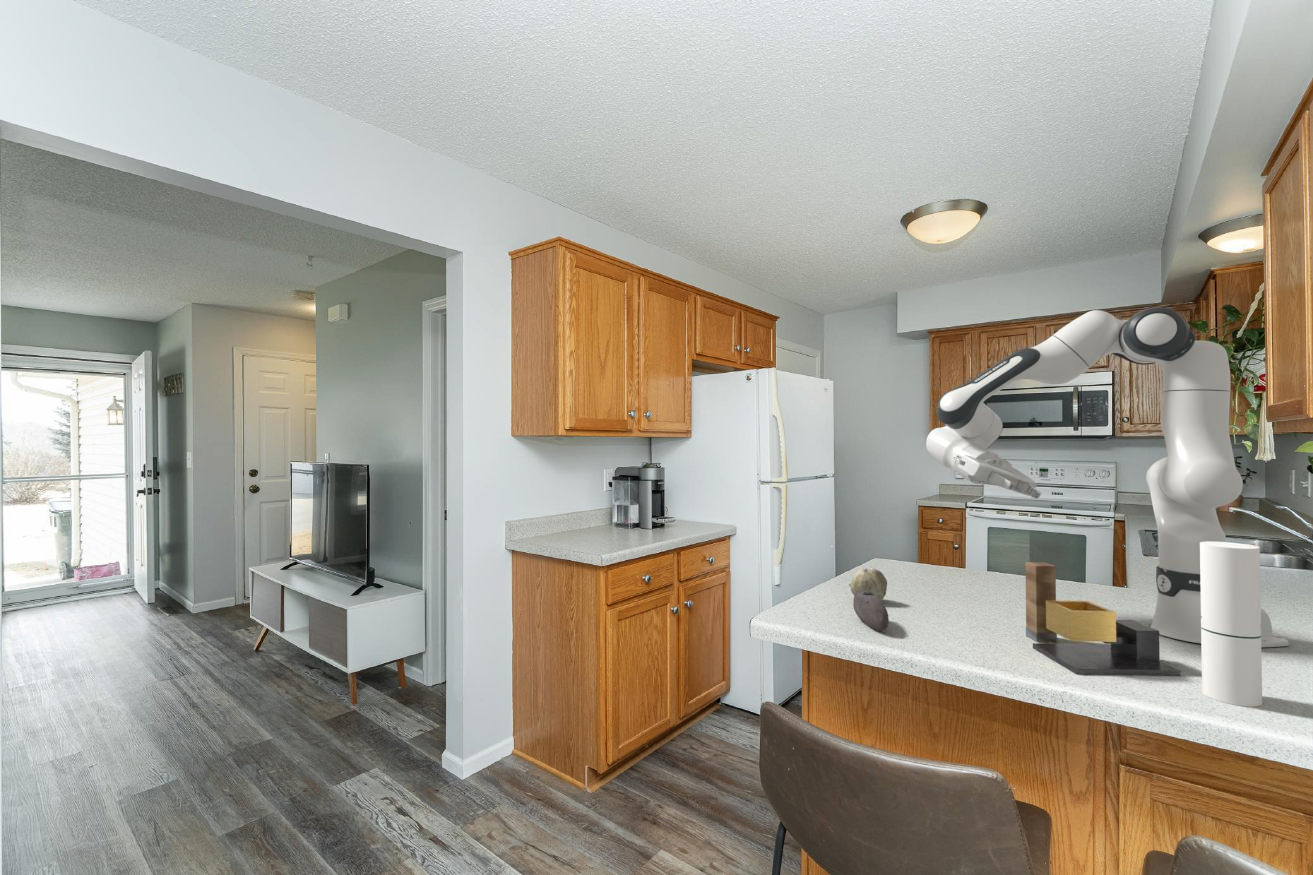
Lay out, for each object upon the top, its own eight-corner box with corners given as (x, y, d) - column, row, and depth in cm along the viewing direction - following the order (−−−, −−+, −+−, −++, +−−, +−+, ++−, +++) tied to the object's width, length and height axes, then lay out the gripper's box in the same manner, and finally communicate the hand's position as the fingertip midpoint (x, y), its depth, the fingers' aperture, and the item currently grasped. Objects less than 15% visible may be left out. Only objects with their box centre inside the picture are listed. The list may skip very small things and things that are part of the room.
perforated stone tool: (896, 636, 131) (895, 604, 131) (871, 636, 131) (871, 604, 131) (873, 617, 146) (873, 588, 146) (851, 616, 146) (851, 588, 146)
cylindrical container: (1260, 696, 99) (1257, 544, 99) (1264, 710, 94) (1261, 550, 94) (1201, 685, 104) (1199, 540, 104) (1202, 698, 99) (1199, 545, 99)
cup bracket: (1124, 649, 122) (1123, 597, 122) (1180, 676, 108) (1179, 617, 108) (1032, 648, 123) (1032, 596, 123) (1076, 674, 109) (1075, 616, 109)
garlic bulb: (885, 611, 159) (899, 577, 157) (864, 610, 155) (877, 575, 153) (860, 593, 167) (872, 560, 165) (838, 591, 163) (851, 558, 161)
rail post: (1045, 636, 131) (1044, 562, 131) (1056, 642, 126) (1055, 566, 127) (1025, 635, 131) (1025, 562, 131) (1036, 642, 127) (1035, 566, 127)
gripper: (956, 443, 143) (1001, 468, 131) (1012, 463, 151) (1060, 488, 139) (942, 466, 145) (986, 493, 133) (999, 485, 153) (1045, 511, 141)
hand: (1024, 491), depth 136 cm, fingers open, 8 cm apart
